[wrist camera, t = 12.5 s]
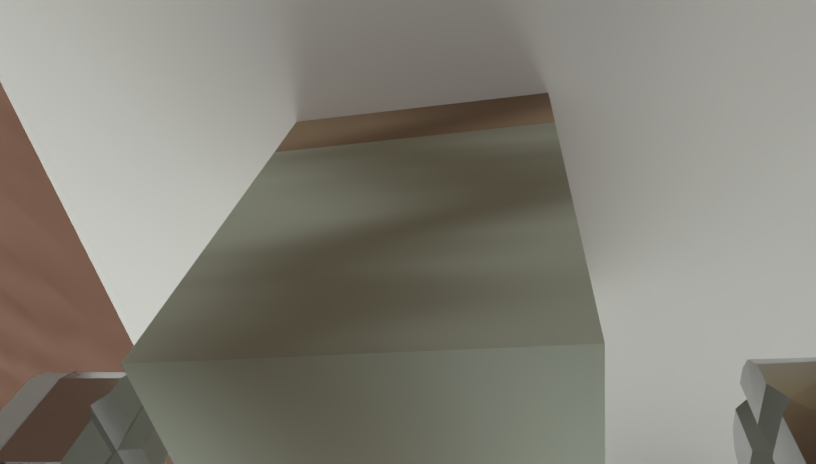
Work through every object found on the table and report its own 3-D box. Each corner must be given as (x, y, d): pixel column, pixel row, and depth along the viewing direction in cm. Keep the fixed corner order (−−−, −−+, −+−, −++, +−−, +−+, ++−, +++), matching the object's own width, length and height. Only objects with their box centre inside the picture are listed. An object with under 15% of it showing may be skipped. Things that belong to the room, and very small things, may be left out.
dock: (886, -354, 10) (1029, -428, 7) (758, 392, 19) (803, 483, 16) (-3, -156, 13) (-131, -158, 11) (235, 406, 22) (198, 485, 19)
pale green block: (548, 92, 12) (604, 343, 6) (558, 302, 14) (605, 628, 8) (296, 122, 13) (120, 364, 7) (347, 314, 15) (253, 615, 9)
